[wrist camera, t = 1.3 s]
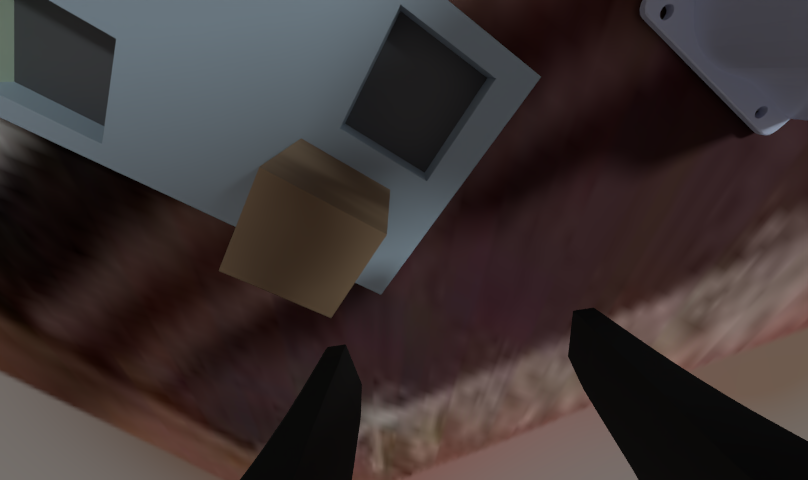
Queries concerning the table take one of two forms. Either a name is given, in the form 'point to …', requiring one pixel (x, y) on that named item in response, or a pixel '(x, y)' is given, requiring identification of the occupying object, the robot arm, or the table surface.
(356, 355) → the table surface
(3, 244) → the table surface
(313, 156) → the walnut block
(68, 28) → the board
